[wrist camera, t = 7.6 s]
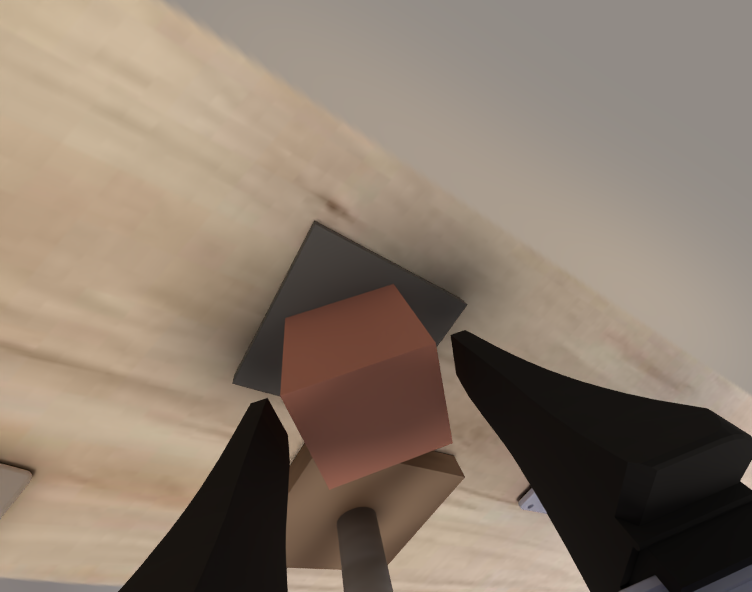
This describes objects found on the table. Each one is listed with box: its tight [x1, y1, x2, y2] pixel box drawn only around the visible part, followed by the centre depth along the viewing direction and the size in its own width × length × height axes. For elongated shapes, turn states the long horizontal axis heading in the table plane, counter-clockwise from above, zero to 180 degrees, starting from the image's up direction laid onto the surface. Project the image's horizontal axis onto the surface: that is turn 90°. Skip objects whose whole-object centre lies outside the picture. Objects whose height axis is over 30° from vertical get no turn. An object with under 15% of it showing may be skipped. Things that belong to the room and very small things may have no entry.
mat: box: [232, 221, 467, 397], centre depth 14 cm, size 8×8×1 cm
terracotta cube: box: [280, 284, 453, 490], centre depth 12 cm, size 5×5×5 cm
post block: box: [286, 444, 465, 592], centre depth 17 cm, size 10×10×6 cm
